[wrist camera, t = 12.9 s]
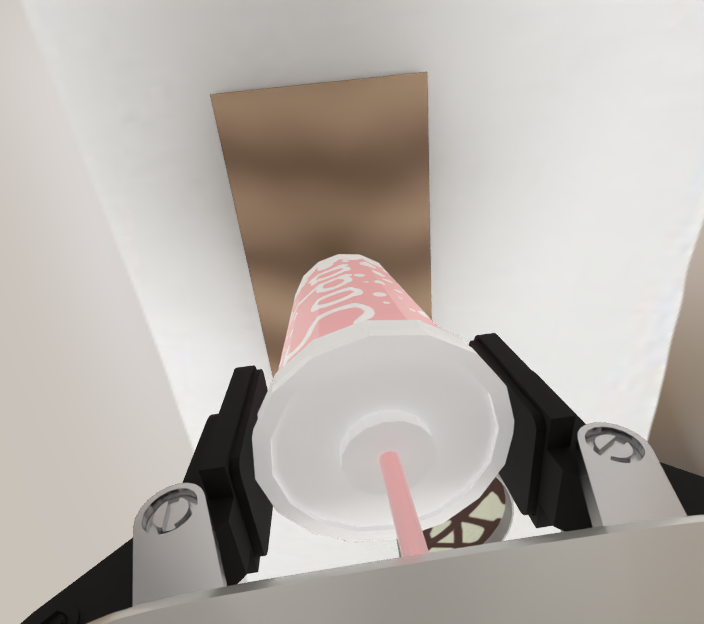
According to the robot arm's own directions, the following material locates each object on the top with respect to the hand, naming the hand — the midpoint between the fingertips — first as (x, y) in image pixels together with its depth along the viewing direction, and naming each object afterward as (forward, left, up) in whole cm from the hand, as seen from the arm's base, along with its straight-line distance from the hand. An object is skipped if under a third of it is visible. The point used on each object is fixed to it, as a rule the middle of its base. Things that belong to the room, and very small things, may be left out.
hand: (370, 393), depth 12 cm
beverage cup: (-1, 0, -6) cm, 6 cm away
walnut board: (0, 0, -16) cm, 16 cm away
